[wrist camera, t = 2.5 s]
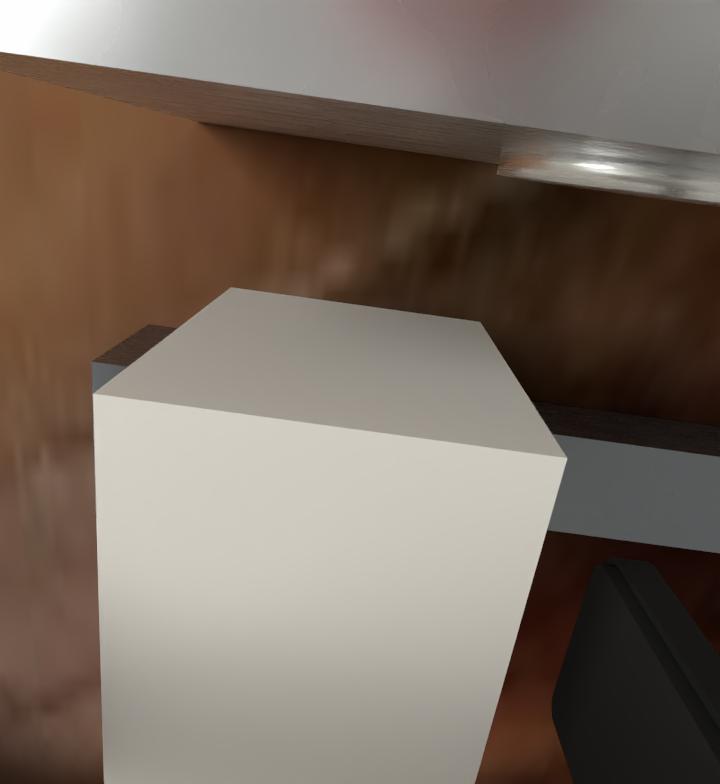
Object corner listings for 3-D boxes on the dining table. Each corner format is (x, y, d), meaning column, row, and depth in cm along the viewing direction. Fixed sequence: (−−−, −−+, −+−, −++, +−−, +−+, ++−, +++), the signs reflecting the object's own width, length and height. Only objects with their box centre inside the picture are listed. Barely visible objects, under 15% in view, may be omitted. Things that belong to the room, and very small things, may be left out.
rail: (950, 435, 15) (1083, 497, 12) (886, 555, 16) (993, 637, 13) (148, 324, 15) (91, 362, 12) (147, 456, 16) (95, 518, 13)
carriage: (468, 302, 14) (566, 457, 6) (417, 557, 16) (446, 883, 9) (250, 272, 14) (92, 393, 6) (232, 533, 16) (104, 840, 9)
